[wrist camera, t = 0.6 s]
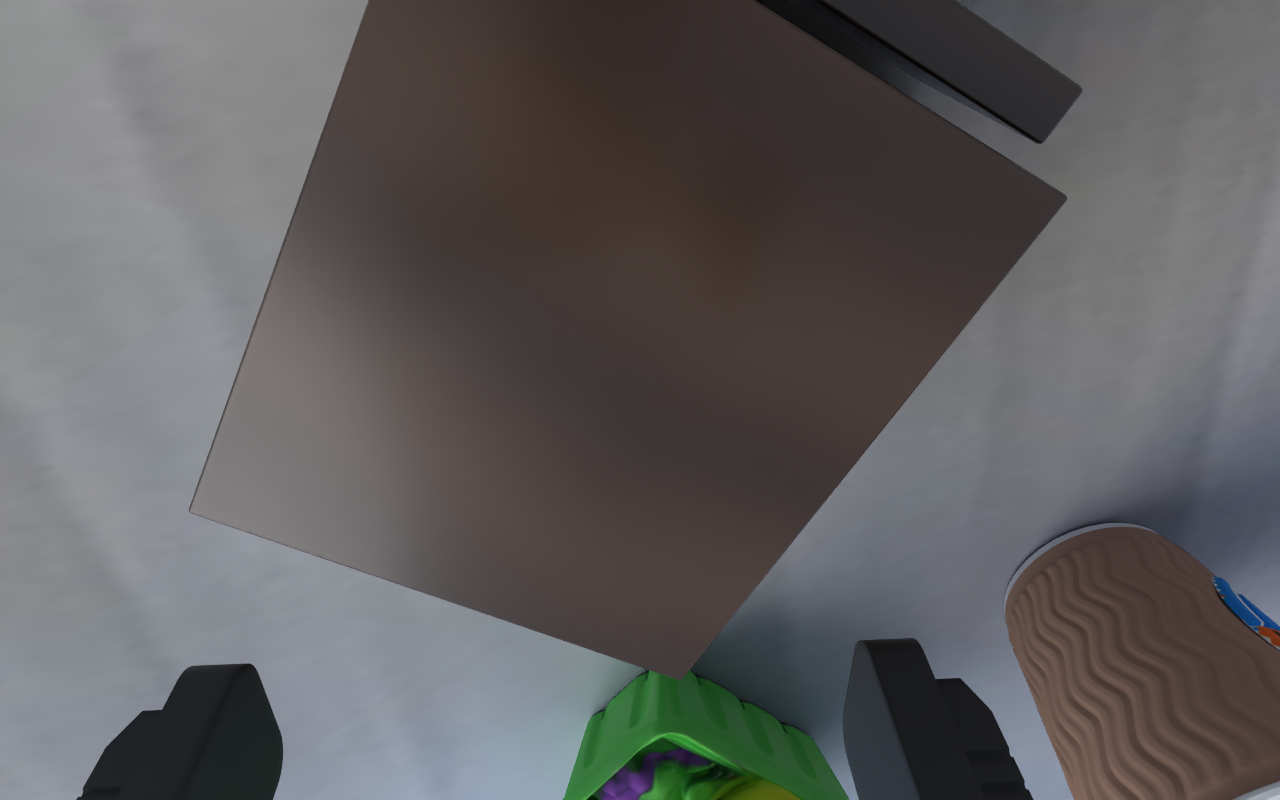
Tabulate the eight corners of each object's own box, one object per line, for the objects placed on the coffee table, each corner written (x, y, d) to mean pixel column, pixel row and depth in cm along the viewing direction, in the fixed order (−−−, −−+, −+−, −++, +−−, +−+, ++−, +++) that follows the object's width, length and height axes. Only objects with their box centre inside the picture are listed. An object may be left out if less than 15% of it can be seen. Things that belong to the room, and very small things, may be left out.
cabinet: (497, -160, 20) (438, -200, 12) (910, 100, 24) (1070, 197, 16) (306, 331, 26) (187, 513, 18) (657, 477, 30) (681, 682, 22)
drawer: (657, -495, 17) (697, -738, 10) (1075, -161, 20) (1300, -190, 14) (348, 276, 24) (264, 405, 18) (684, 425, 28) (712, 578, 21)
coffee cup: (1233, 621, 35) (1501, 920, 25) (995, 706, 37) (1151, 1015, 27) (1200, 442, 30) (1518, 720, 20) (927, 550, 32) (1088, 855, 22)
